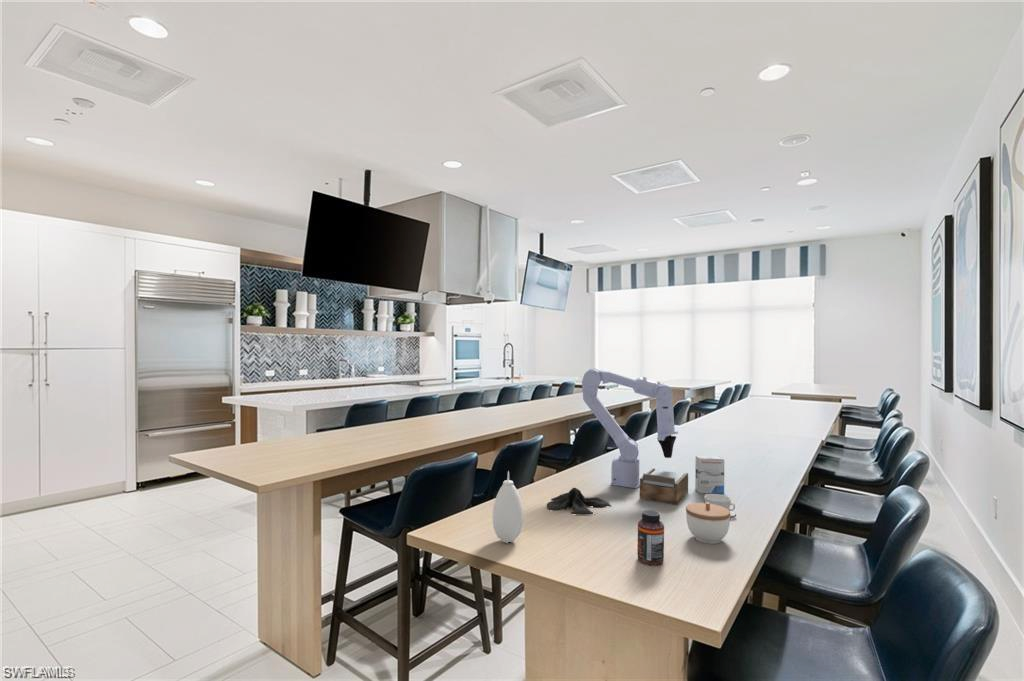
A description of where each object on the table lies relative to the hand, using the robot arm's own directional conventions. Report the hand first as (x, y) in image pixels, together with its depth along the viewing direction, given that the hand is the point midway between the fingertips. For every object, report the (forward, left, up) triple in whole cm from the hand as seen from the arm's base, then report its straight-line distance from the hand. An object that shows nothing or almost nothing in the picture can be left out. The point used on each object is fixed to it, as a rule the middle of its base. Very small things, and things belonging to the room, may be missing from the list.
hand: (668, 457), depth 178 cm
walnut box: (+1, -10, -11) cm, 15 cm away
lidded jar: (+20, -42, -11) cm, 48 cm away
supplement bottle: (+11, -63, -11) cm, 65 cm away
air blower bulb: (-23, -71, -11) cm, 76 cm away
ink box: (+13, +3, -11) cm, 17 cm away
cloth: (-21, -35, -11) cm, 42 cm away
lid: (+1, -10, -5) cm, 12 cm away
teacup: (+19, -19, -11) cm, 29 cm away
